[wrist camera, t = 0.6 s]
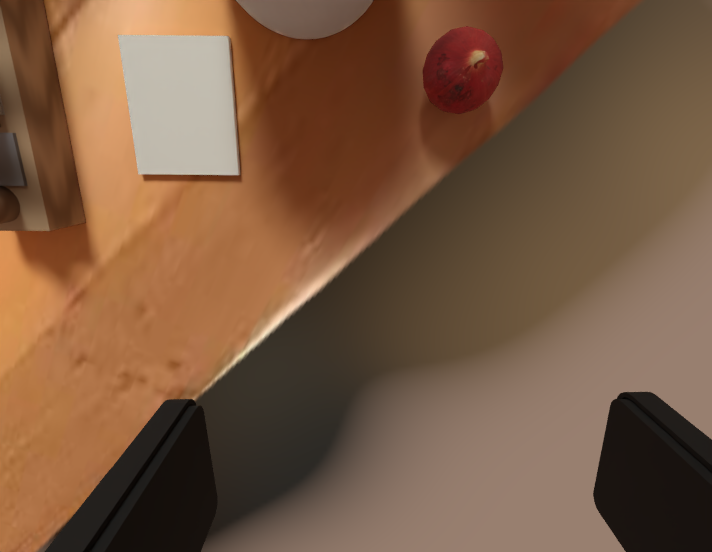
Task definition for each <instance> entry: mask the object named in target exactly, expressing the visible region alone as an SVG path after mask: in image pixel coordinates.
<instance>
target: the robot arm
mask: <svg viewBox="0 0 712 552" xmlns="http://www.w3.org/2000/svg"><path fill="white" fill-rule="evenodd" d="M593 496H594V502H595V505H596V507H597V509H598V511H599V513H600V514H601V516H602V517H603V519H604V520H605V522H606V523H607V524H608V526H609V527H610V529H611V530H612V532H613V533H614V535H615V536H616V538H617V539H618V541H619V542H620V544H621V545H622V547H623V548H624V550H625V551H626V552H712V440H711V439H710V438H709V437H708V436H706V435H705V434H704V433H703V432H701V431H700V430H699V429H697V428H696V427H695V426H694V425H693V424H691V423H690V422H689V421H688V420H686V419H685V418H684V417H683V416H681V415H680V414H679V413H678V412H676V411H675V410H674V409H673V408H671V407H670V406H669V405H668V404H666V403H665V402H664V401H663V400H661V399H660V398H659V397H658V396H656V395H655V394H653V393H651V392H624V393H621V394H620V395H619V396H618V397H617V399H615V400H613V401H612V402H611V405H610V410H609V415H608V420H607V425H606V431H605V436H604V441H603V446H602V451H601V456H600V461H599V467H598V472H597V477H596V482H595V487H594V493H593ZM216 509H217V492H216V485H215V480H214V473H213V467H212V461H211V454H210V449H209V442H208V435H207V429H206V423H205V416H204V411H203V408H202V406H196V403H195V401H194V400H192V399H174V400H166V401H165V402H164V403H163V404H162V405H161V406H160V408H159V409H158V410H157V411H156V413H155V414H154V415H153V416H152V418H151V419H150V420H149V421H148V423H147V424H146V425H145V426H144V428H143V429H142V430H141V432H140V433H139V434H138V435H137V437H136V438H135V439H134V440H133V442H132V443H131V444H130V445H129V447H128V448H127V449H126V450H125V452H124V453H123V454H122V456H121V457H120V458H119V459H118V461H117V462H116V463H115V464H114V466H113V467H112V468H111V469H110V470H109V471H108V473H107V474H106V475H105V476H104V478H103V479H102V480H101V481H100V483H99V484H98V485H97V486H96V488H95V489H94V490H93V492H92V493H91V494H90V495H89V497H88V498H87V499H86V500H85V502H84V503H83V504H82V505H81V507H80V508H79V509H78V510H77V512H76V513H75V514H74V515H73V517H72V518H71V519H70V521H69V522H68V523H67V524H66V526H65V527H64V528H63V529H62V531H61V532H60V533H59V534H58V536H57V537H56V538H55V539H54V541H53V542H52V543H51V544H50V546H49V547H48V548H47V550H46V551H45V552H201V549H202V547H203V544H204V542H205V539H206V537H207V534H208V532H209V529H210V527H211V524H212V522H213V519H214V517H215V514H216Z"/></svg>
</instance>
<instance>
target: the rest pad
mask: <svg viewBox="0 0 712 552" xmlns="http://www.w3.org/2000/svg"><path fill="white" fill-rule="evenodd" d="M118 39H119V46H120V52H121V59H122V66H123V73H124V79H125V86H126V93H127V100H128V107H129V113H130V120H131V127H132V134H133V140H134V147H135V154H136V161H137V167H138V174H170V175H241V173H240V160H239V146H238V133H237V119H236V106H235V92H234V79H233V66H232V52H231V39H230V37H229V36H175V35H118Z"/></svg>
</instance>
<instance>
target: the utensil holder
mask: <svg viewBox="0 0 712 552" xmlns="http://www.w3.org/2000/svg"><path fill="white" fill-rule="evenodd" d="M236 1H237V2H238V3H239V4H240V5H241V6H242V7H243V9H244V10H245V11H246V12H247V13H248V14H249V15H250V16H252V17H253V18H254V19H255V20H256V21H258V22H259V23H260V24H262V25H263V26H265V27H266V28H268V29H270V30H272V31H274V32H276V33H279V34H281V35H284V36H287V37H291V38H296V39H318V38H324V37H328V36H331V35H333V34H336V33H338V32H340V31H342V30H344V29H346V28H347V27H349V26H350V25H352V24H353V23H354V22H355V21H356V20H358V19H359V18H360V17H361V16H362V15H363V14H364V13H365V11H366V10H367V9H368V8H369V6H370V5H371V4H372V2H373V0H236Z"/></svg>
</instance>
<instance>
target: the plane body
mask: <svg viewBox="0 0 712 552" xmlns="http://www.w3.org/2000/svg"><path fill="white" fill-rule="evenodd" d="M0 96H1V100H2V105H3V109H4V113H5V115H0V231H52V230H56V229H60V228H65V227H69V226H73V225H77V224H81V223H86V221H85V216H84V210H83V205H82V200H81V195H80V190H79V184H78V179H77V174H76V169H75V164H74V158H73V153H72V148H71V143H70V138H69V132H68V127H67V122H66V117H65V112H64V106H63V101H62V96H61V91H60V86H59V80H58V75H57V70H56V65H55V60H54V54H53V49H52V44H51V39H50V34H49V28H48V23H47V18H46V13H45V8H44V2H43V0H0Z"/></svg>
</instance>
